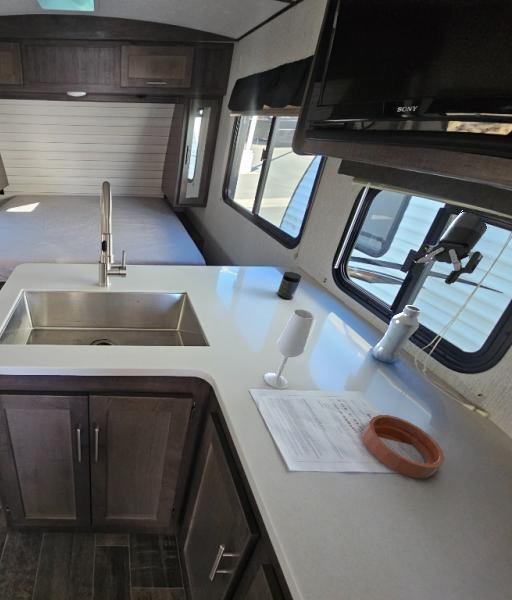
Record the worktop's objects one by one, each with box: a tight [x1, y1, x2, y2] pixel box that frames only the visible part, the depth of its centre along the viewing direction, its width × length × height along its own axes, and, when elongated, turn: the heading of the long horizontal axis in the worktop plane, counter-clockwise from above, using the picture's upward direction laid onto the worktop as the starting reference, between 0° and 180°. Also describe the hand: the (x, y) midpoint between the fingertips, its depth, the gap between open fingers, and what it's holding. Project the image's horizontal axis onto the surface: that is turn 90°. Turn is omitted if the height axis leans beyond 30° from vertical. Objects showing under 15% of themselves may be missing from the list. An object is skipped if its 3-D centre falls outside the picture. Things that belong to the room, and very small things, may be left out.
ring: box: [361, 414, 445, 479], centre depth 75 cm, size 14×14×6 cm
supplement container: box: [277, 271, 302, 300], centre depth 139 cm, size 7×7×10 cm
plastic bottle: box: [372, 304, 422, 364], centre depth 102 cm, size 6×7×20 cm
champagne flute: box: [263, 308, 315, 390], centre depth 90 cm, size 7×7×24 cm
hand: (429, 279), depth 97 cm, fingers open, 8 cm apart
